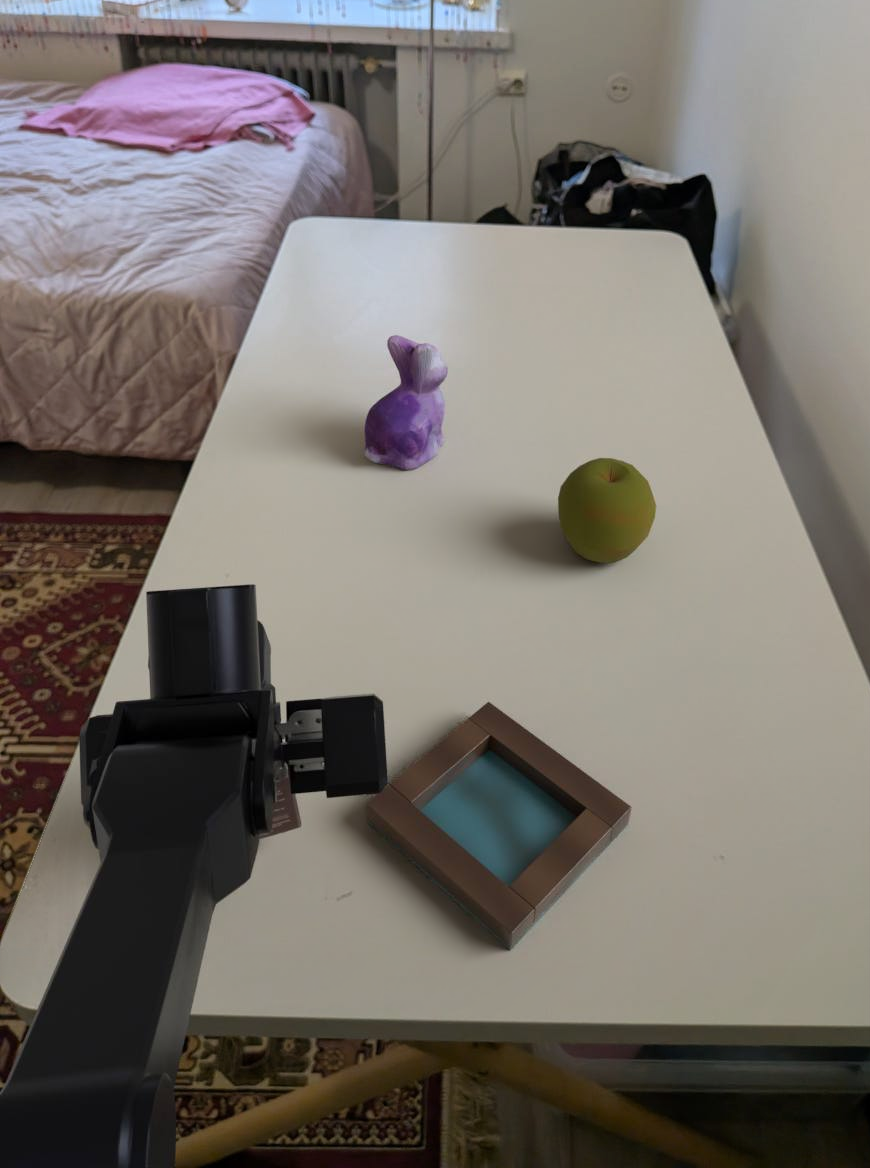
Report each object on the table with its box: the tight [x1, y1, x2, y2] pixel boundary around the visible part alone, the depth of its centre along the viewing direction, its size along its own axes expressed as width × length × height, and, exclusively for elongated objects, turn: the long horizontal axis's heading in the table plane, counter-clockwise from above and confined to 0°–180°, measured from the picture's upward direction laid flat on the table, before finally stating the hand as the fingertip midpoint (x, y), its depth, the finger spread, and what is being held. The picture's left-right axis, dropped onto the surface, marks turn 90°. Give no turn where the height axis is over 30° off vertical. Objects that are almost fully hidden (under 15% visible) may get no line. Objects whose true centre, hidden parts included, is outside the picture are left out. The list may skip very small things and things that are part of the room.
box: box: [259, 735, 302, 840], centre depth 69 cm, size 6×4×12 cm
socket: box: [365, 701, 632, 951], centre depth 74 cm, size 14×15×2 cm
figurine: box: [364, 334, 449, 471], centre depth 109 cm, size 9×10×15 cm
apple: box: [557, 457, 657, 564], centre depth 97 cm, size 10×10×11 cm
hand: (254, 739), depth 69 cm, fingers closed on box, 5 cm apart
